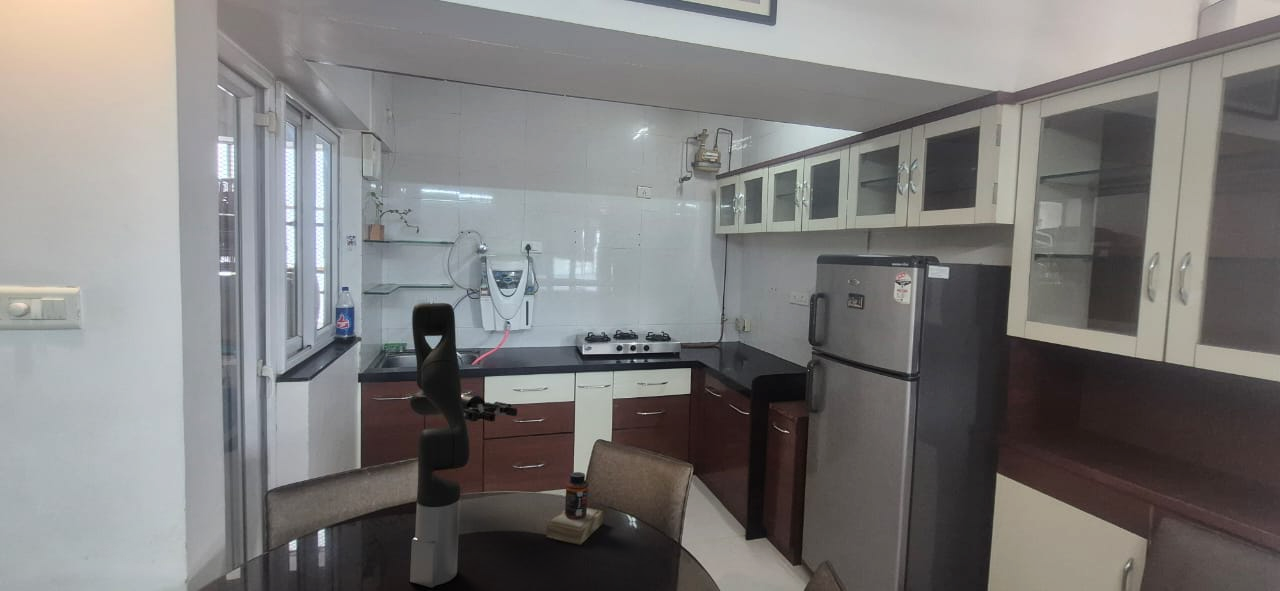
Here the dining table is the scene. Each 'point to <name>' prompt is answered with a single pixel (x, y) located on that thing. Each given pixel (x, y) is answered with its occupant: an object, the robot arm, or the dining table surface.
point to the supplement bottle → (576, 496)
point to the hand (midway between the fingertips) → (505, 415)
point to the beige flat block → (574, 526)
